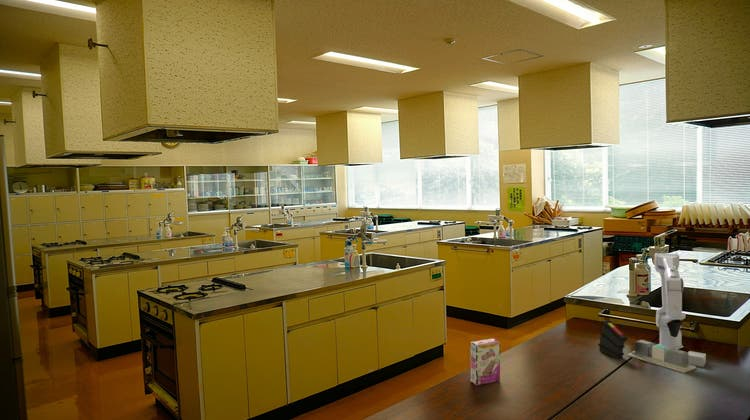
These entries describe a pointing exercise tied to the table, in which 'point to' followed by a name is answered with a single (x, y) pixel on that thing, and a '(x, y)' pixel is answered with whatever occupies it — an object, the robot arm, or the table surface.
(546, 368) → the table surface
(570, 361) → the table surface
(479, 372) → the candy bar box
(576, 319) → the table surface
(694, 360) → the block
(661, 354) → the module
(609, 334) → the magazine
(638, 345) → the rail panel
